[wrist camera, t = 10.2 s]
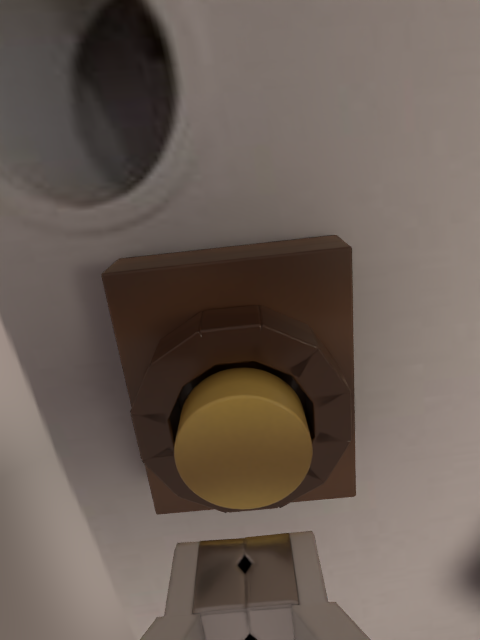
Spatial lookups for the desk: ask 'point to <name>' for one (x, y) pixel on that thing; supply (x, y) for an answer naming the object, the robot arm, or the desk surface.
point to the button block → (239, 348)
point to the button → (243, 439)
